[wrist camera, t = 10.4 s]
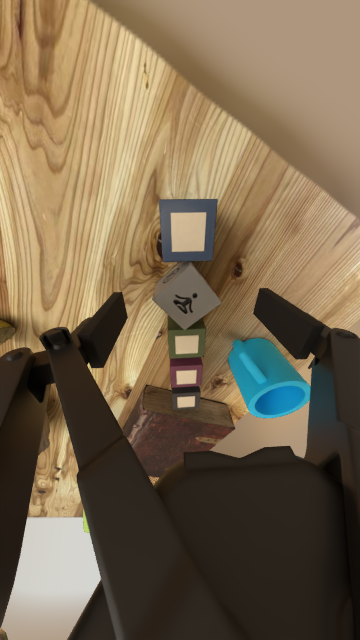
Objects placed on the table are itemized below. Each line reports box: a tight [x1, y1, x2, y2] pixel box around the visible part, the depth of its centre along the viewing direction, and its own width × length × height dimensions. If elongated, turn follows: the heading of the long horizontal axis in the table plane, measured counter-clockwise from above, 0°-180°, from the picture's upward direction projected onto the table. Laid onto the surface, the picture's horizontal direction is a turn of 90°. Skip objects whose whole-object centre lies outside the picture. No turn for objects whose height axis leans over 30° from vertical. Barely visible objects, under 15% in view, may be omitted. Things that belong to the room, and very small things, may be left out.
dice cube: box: [152, 261, 222, 330], centre depth 18 cm, size 5×5×5 cm
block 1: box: [159, 199, 218, 262], centre depth 15 cm, size 4×4×5 cm
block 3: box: [170, 357, 203, 388], centre depth 24 cm, size 4×4×5 cm
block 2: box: [168, 315, 206, 359], centre depth 21 cm, size 4×4×5 cm
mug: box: [228, 338, 311, 418], centre depth 23 cm, size 12×8×8 cm
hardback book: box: [122, 385, 235, 477], centre depth 36 cm, size 29×19×5 cm, turn 155°
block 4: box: [172, 386, 200, 410], centre depth 27 cm, size 4×4×5 cm
